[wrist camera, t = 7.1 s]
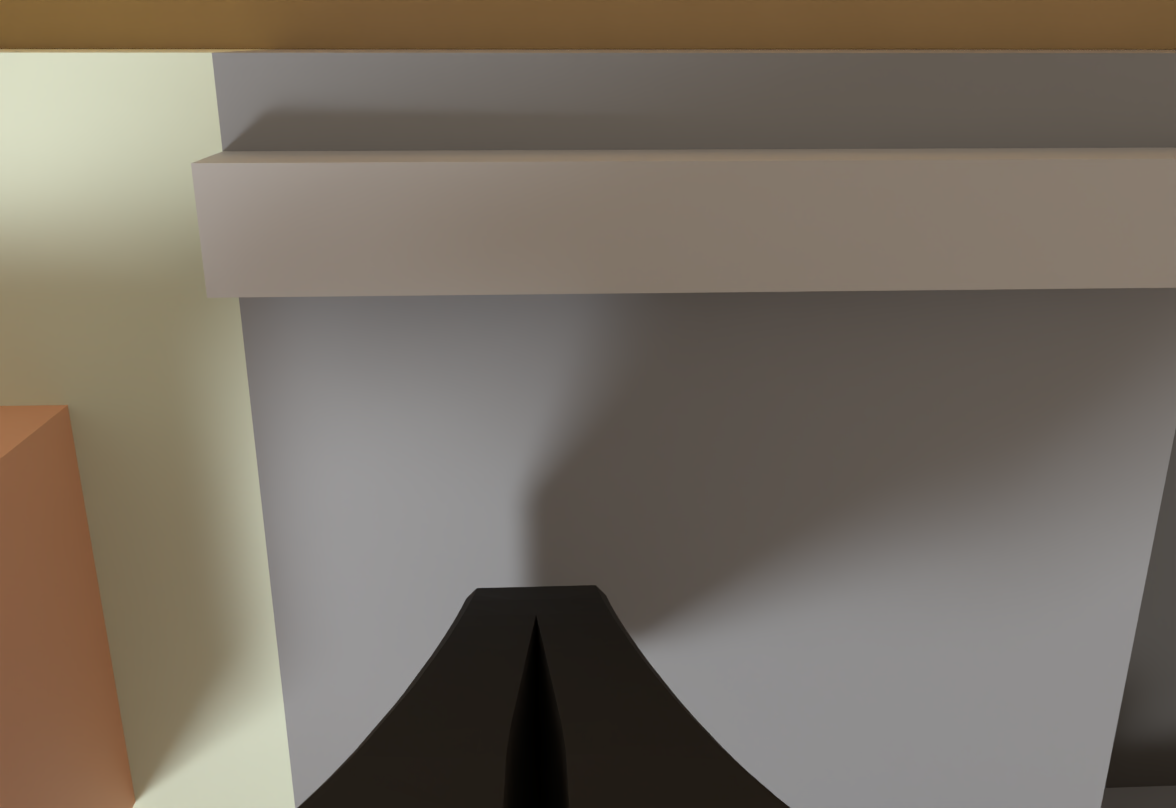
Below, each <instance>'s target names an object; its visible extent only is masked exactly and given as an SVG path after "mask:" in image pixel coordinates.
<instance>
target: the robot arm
mask: <svg viewBox="0 0 1176 808" xmlns="http://www.w3.org/2000/svg"><path fill="white" fill-rule="evenodd" d="M298 808H790V807H789V806H788V805H786V804H785V803H784V802H783V801H781V800H780V799H779V798H778V797H776V796H775V795H774V794H773V793H772V792H771V791H769V790H768V789H767V788H766V787H765V786H764V785H763V784H761V783H760V782H759V781H758V780H757V779H756V778H754V777H753V776H752V775H751V774H750V773H749V772H748V771H747V770H746V769H744V768H743V767H742V766H741V765H740V764H739V763H738V762H737V761H736V760H735V759H734V758H733V757H732V756H731V755H730V754H729V753H728V752H727V751H726V750H725V749H724V748H723V747H722V746H721V745H720V744H719V743H718V742H717V741H716V740H715V739H714V738H713V737H712V736H711V735H710V733H709V732H708V731H707V730H706V729H705V728H704V727H703V726H702V725H701V724H700V723H699V722H698V721H697V720H696V719H695V717H694V716H693V715H692V714H691V713H690V712H689V711H688V709H687V708H686V707H685V706H684V705H683V704H682V703H681V701H680V700H679V699H678V698H677V697H676V695H675V694H674V693H673V692H672V690H671V689H670V688H669V687H668V685H667V684H666V683H665V682H664V680H663V679H662V678H661V677H660V675H659V674H658V673H657V672H656V670H655V669H654V668H653V667H652V665H651V664H650V663H649V661H648V660H647V659H646V657H645V656H644V655H643V653H642V652H641V651H640V649H639V648H638V646H637V645H636V643H635V642H634V641H633V639H632V638H631V636H630V635H629V633H628V632H627V630H626V629H625V627H624V626H623V624H622V623H621V621H620V619H619V618H618V616H617V614H616V613H615V611H614V609H613V607H612V606H611V604H610V602H609V600H608V598H607V596H606V595H605V594H604V593H603V592H602V591H601V590H600V589H599V588H598V587H597V586H596V585H578V586H539V587H500V588H476V589H475V590H474V591H473V592H472V593H471V594H470V595H469V596H468V597H467V598H466V600H465V602H464V604H463V606H462V608H461V609H460V611H459V613H458V615H457V616H456V618H455V620H454V622H453V623H452V625H451V626H450V628H449V630H448V631H447V633H446V634H445V636H444V637H443V639H442V640H441V642H440V643H439V645H438V646H437V648H436V649H435V651H434V652H433V654H432V655H431V657H430V658H429V659H428V661H427V662H426V664H425V665H424V666H423V668H422V669H421V670H420V672H419V673H418V674H417V676H416V677H415V678H414V680H413V681H412V683H411V684H410V685H409V687H408V688H407V689H406V691H405V692H404V693H403V695H402V696H401V697H400V698H399V700H398V701H397V702H396V703H395V705H394V706H393V707H392V708H391V709H390V711H389V712H388V713H387V714H386V715H385V716H384V717H383V719H382V720H381V721H380V722H379V723H378V724H377V726H376V727H375V728H374V729H373V730H372V731H371V733H370V734H369V735H368V736H367V737H366V738H365V740H364V741H363V742H362V743H361V744H360V745H359V747H358V748H357V749H356V750H355V751H354V752H353V753H352V754H351V755H350V756H349V757H348V758H347V760H346V761H345V762H344V763H343V764H342V765H341V766H340V767H339V768H338V769H337V770H336V771H335V772H334V773H333V774H332V775H331V776H330V777H329V778H328V779H327V780H326V781H325V782H324V783H323V784H322V785H321V786H320V787H319V788H318V789H317V790H316V791H315V792H314V793H313V794H311V795H310V796H309V797H308V798H307V799H306V800H305V801H304V802H303V803H302V804H301V805H300V806H299V807H298Z"/></svg>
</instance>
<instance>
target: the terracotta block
mask: <svg viewBox="0 0 1176 808" xmlns="http://www.w3.org/2000/svg"><path fill="white" fill-rule="evenodd" d="M135 802H136V801H135V795H134V790H133V784H132V778H131V772H130V766H129V760H128V755H127V749H126V743H125V737H124V731H123V725H122V719H121V714H120V708H119V702H118V696H117V690H116V684H115V679H114V673H113V667H112V661H111V655H110V649H109V643H108V638H107V632H106V626H105V620H104V614H103V608H102V603H101V597H100V591H99V585H98V579H97V573H96V567H95V562H94V556H93V550H92V544H91V538H90V532H89V526H88V521H87V515H86V509H85V503H84V497H83V491H82V486H81V480H80V474H79V468H78V462H77V456H76V450H75V445H74V439H73V433H72V427H71V421H70V415H69V410H68V405H32V406H0V808H133V806H134V804H135Z"/></svg>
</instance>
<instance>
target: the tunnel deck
mask: <svg viewBox="0 0 1176 808" xmlns="http://www.w3.org/2000/svg"><path fill="white" fill-rule="evenodd" d="M32 405H68V410H69V415H70V421H71V427H72V433H73V439H74V445H75V450H76V456H77V462H78V468H79V474H80V480H81V486H82V491H83V497H84V503H85V509H86V515H87V521H88V526H89V532H90V538H91V544H92V550H93V556H94V562H95V567H96V573H97V579H98V585H99V591H100V597H101V603H102V608H103V614H104V620H105V626H106V632H107V638H108V643H109V649H110V655H111V661H112V667H113V673H114V679H115V684H116V690H117V696H118V702H119V708H120V714H121V719H122V725H123V731H124V737H125V743H126V749H127V755H128V760H129V766H130V772H131V778H132V784H133V790H134V795H135V801H136V802H135V804H134V806H133V808H298V807H299V806H300V805H301V804H302V803H303V802H304V801H305V800H306V799H307V798H308V797H309V796H310V795H311V794H313V793H314V792H315V791H316V790H317V789H318V788H319V787H320V786H321V785H322V784H323V783H324V782H325V781H326V780H327V779H328V778H329V777H330V776H331V775H332V774H333V773H334V772H335V771H336V770H337V769H338V768H339V767H340V766H341V765H342V764H343V763H344V762H345V761H346V760H347V758H348V757H349V756H350V755H351V754H352V753H353V752H354V751H355V750H356V749H357V748H358V747H359V745H360V744H361V743H362V742H363V741H364V740H365V738H366V737H367V736H368V735H369V734H370V733H371V731H372V730H373V729H374V728H375V727H376V726H377V724H378V723H379V722H380V721H381V720H382V719H383V717H384V716H385V715H386V714H387V713H388V712H389V711H390V709H391V708H392V707H393V706H394V705H395V703H396V702H397V701H398V700H399V698H400V697H401V696H402V695H403V693H404V692H405V691H406V689H407V688H408V687H409V685H410V684H411V683H412V681H413V680H414V678H415V677H416V676H417V674H418V673H419V672H420V670H421V669H422V668H423V666H424V665H425V664H426V662H427V661H428V659H429V658H430V657H431V655H432V654H433V652H434V651H435V649H436V648H437V646H438V645H439V643H440V642H441V640H442V639H443V637H444V636H445V634H446V633H447V631H448V630H449V628H450V626H451V625H452V623H453V622H454V620H455V618H456V616H457V615H458V613H459V611H460V609H461V608H462V606H463V604H464V602H465V600H466V598H467V597H468V596H469V595H470V594H471V593H472V592H473V591H474V590H475V589H476V588H500V587H539V586H578V585H596V586H597V587H598V588H599V589H600V590H601V591H602V592H603V593H604V594H605V595H606V596H607V598H608V600H609V602H610V604H611V606H612V607H613V609H614V611H615V613H616V614H617V616H618V618H619V619H620V621H621V623H622V624H623V626H624V627H625V629H626V630H627V632H628V633H629V635H630V636H631V638H632V639H633V641H634V642H635V643H636V645H637V646H638V648H639V649H640V651H641V652H642V653H643V655H644V656H645V657H646V659H647V660H648V661H649V663H650V664H651V665H652V667H653V668H654V669H655V670H656V672H657V673H658V674H659V675H660V677H661V678H662V679H663V680H664V682H665V683H666V684H667V685H668V687H669V688H670V689H671V690H672V692H673V693H674V694H675V695H676V697H677V698H678V699H679V700H680V701H681V703H682V704H683V705H684V706H685V707H686V708H687V709H688V711H689V712H690V713H691V714H692V715H693V716H694V717H695V719H696V720H697V721H698V722H699V723H700V724H701V725H702V726H703V727H704V728H705V729H706V730H707V731H708V732H709V733H710V735H711V736H712V737H713V738H714V739H715V740H716V741H717V742H718V743H719V744H720V745H721V746H722V747H723V748H724V749H725V750H726V751H727V752H728V753H729V754H730V755H731V756H732V757H733V758H734V759H735V760H736V761H737V762H738V763H739V764H740V765H741V766H742V767H743V768H744V769H746V770H747V771H748V772H749V773H750V774H751V775H752V776H753V777H754V778H756V779H757V780H758V781H759V782H760V783H761V784H763V785H764V786H765V787H766V788H767V789H768V790H769V791H771V792H772V793H773V794H774V795H775V796H776V797H778V798H779V799H780V800H781V801H783V802H784V803H785V804H786V805H788V806H789V807H790V808H1176V50H722V49H0V406H32Z"/></svg>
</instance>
